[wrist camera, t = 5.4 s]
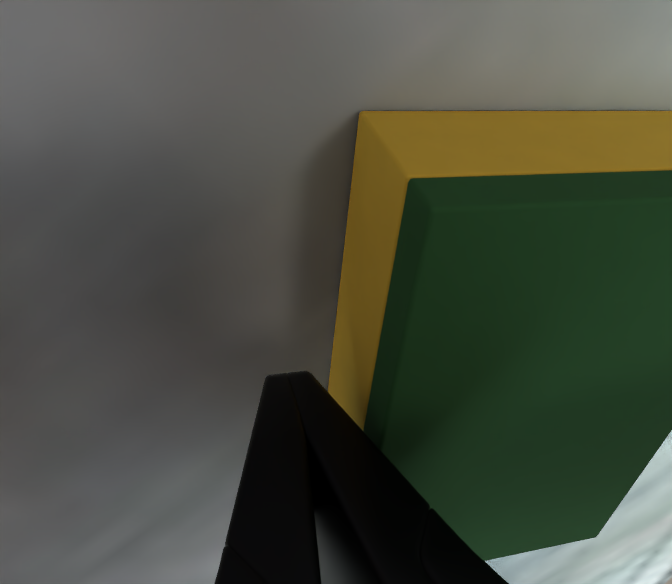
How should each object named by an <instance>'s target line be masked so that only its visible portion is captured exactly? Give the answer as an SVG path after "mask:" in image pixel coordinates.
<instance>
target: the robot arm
mask: <svg viewBox="0 0 672 584" xmlns="http://www.w3.org/2000/svg"><path fill="white" fill-rule="evenodd" d="M429 509H430V505H429V503H428V502H427V501H426V500H425V499H424V498H423V497H422V495H421V494H420V493H419V492H418V491H417V490H416V489H415V488H414V487H413V486H412V484H411V483H410V482H409V481H408V480H407V479H406V478H405V477H404V476H403V475H402V473H401V472H400V471H399V470H398V469H397V468H396V467H395V466H394V465H393V463H392V462H391V461H390V460H389V459H388V458H387V457H386V456H385V455H384V454H383V452H382V451H381V450H380V449H379V448H378V447H377V446H376V445H375V444H374V443H373V441H372V440H371V439H370V438H369V437H368V436H367V435H366V434H365V433H364V431H363V430H362V429H361V428H360V427H359V426H358V425H357V424H356V423H355V422H354V420H353V419H352V418H351V417H350V416H349V415H348V414H347V413H346V412H345V410H344V409H343V408H342V407H341V406H340V405H339V404H338V403H337V402H336V401H335V399H334V398H333V397H332V396H331V395H330V394H329V393H328V392H327V391H326V390H325V388H324V387H323V386H322V385H321V384H320V383H319V382H318V381H317V380H316V378H315V377H314V376H313V375H312V374H311V373H310V372H308V371H300V372H291V373H288V374H287V373H282V374H273V375H268V376H266V378H265V381H264V385H263V389H262V393H261V397H260V402H259V406H258V410H257V414H256V418H255V422H254V426H253V430H252V435H251V439H250V443H249V447H248V451H247V455H246V459H245V463H244V467H243V472H242V476H241V480H240V484H239V488H238V492H237V496H236V500H235V505H234V509H233V513H232V517H231V521H230V525H229V529H228V533H227V537H226V542H225V547H224V549H223V553H222V557H221V561H220V565H219V569H218V573H217V577H216V580H215V584H508V583H507V582H506V581H505V580H504V579H503V578H502V577H501V576H500V575H498V574H497V573H496V572H495V571H494V570H493V569H492V568H491V567H490V566H489V565H488V564H487V563H486V562H485V561H484V560H482V559H481V558H480V557H479V556H478V555H477V554H476V553H475V552H474V551H473V550H472V549H471V548H470V547H469V546H468V545H467V544H466V543H465V542H464V541H463V540H462V539H461V538H460V537H459V536H458V535H457V534H456V533H455V531H454V530H453V529H452V528H451V527H450V526H449V525H448V524H447V523H446V522H445V521H444V520H443V519H442V517H441V516H440V515H439V514H438V513H437V512H436V511H435V510H434V509H433V508H431V509H430V510H429ZM321 582H322V583H321Z"/></svg>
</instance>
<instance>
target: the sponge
mask: <svg viewBox="0 0 672 584" xmlns="http://www.w3.org/2000/svg"><path fill="white" fill-rule="evenodd" d="M328 393H329V394H330V395H331V396H332V397H333V398H334V399H335V401H336V402H337V403H338V404H339V405H340V406H341V407H342V408H343V409H344V410H345V412H346V413H347V414H348V415H349V416H350V417H351V418H352V419H353V420H354V422H355V423H356V424H357V425H358V426H359V427H360V428H361V429H362V430H363V431H364V433H365V434H366V435H367V436H368V437H369V438H370V439H371V440H372V441H373V443H374V444H375V445H376V446H377V447H378V448H379V449H380V450H381V451H382V452H383V454H384V455H385V456H386V457H387V458H388V459H389V460H390V461H391V462H392V463H393V465H394V466H395V467H396V468H397V469H398V470H399V471H400V472H401V473H402V475H403V476H404V477H405V478H406V479H407V480H408V481H409V482H410V483H411V484H412V486H413V487H414V488H415V489H416V490H417V491H418V492H419V493H420V494H421V495H422V497H423V498H424V499H425V500H426V501H427V502H428V503H429V505H430V509H431V508H433V509H434V510H435V511H436V512H437V513H438V514H439V515H440V516H441V517H442V519H443V520H444V521H445V522H446V523H447V524H448V525H449V526H450V527H451V528H452V529H453V530H454V531H455V533H456V534H457V535H458V536H459V537H460V538H461V539H462V540H463V541H464V542H465V543H466V544H467V545H468V546H469V547H470V548H471V549H472V550H473V551H474V552H475V553H476V554H477V555H478V556H479V557H480V558H481V559H482V560H484V561H486V560H490V559H495V558H500V557H504V556H509V555H514V554H519V553H523V552H528V551H533V550H538V549H542V548H547V547H552V546H557V545H561V544H566V543H571V542H575V541H580V540H585V539H590V538H594V537H596V536H597V535H598V534H599V532H600V531H601V530H602V528H603V527H604V525H605V524H606V522H607V521H608V520H609V518H610V517H611V515H612V514H613V512H614V511H615V510H616V508H617V507H618V505H619V504H620V503H621V501H622V500H623V498H624V497H625V495H626V494H627V493H628V491H629V490H630V488H631V487H632V486H633V484H634V483H635V481H636V480H637V478H638V477H639V476H640V474H641V473H642V471H643V470H644V468H645V467H646V466H647V464H648V463H649V461H650V460H651V459H652V457H653V456H654V454H655V453H656V451H657V450H658V449H659V447H660V446H661V444H662V443H663V441H664V440H665V439H666V437H667V436H668V434H669V433H670V432H671V430H672V111H362V112H360V114H359V120H358V129H357V138H356V147H355V156H354V164H353V173H352V182H351V191H350V200H349V209H348V217H347V226H346V235H345V244H344V253H343V262H342V270H341V279H340V288H339V297H338V306H337V315H336V323H335V332H334V341H333V350H332V359H331V367H330V376H329V385H328ZM430 509H429V510H430Z"/></svg>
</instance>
